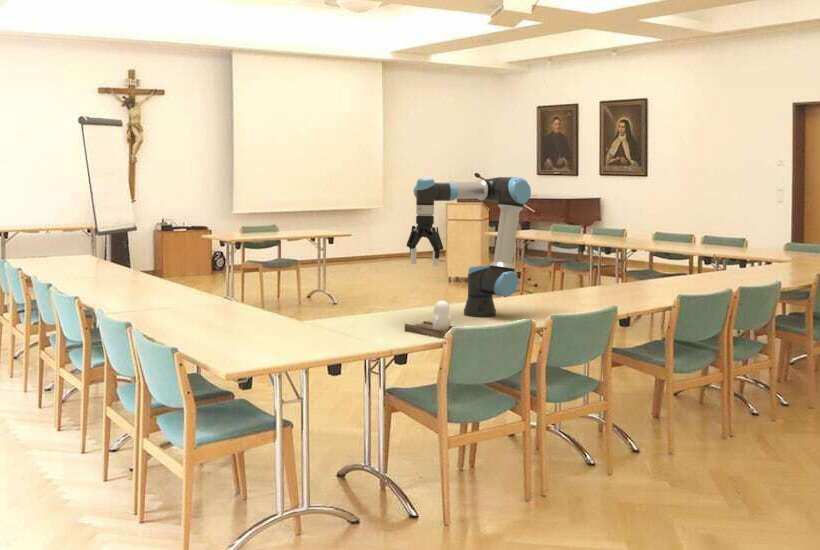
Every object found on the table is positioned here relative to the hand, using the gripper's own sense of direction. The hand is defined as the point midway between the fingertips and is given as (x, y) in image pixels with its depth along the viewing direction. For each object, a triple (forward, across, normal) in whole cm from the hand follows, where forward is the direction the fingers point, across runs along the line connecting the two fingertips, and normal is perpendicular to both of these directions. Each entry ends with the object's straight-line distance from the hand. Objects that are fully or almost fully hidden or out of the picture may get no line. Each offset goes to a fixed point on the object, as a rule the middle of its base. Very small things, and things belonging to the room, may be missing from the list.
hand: (424, 265), depth 381 cm
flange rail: (+27, +13, -7) cm, 31 cm away
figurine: (+25, +18, -7) cm, 31 cm away
